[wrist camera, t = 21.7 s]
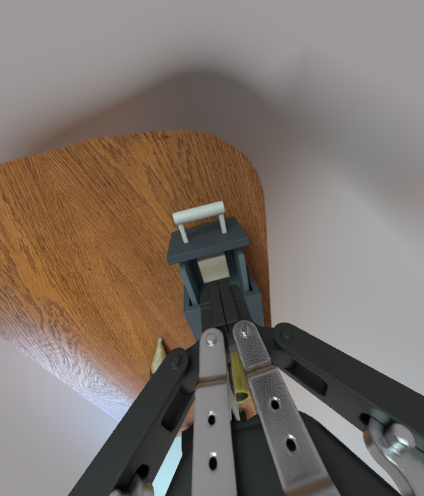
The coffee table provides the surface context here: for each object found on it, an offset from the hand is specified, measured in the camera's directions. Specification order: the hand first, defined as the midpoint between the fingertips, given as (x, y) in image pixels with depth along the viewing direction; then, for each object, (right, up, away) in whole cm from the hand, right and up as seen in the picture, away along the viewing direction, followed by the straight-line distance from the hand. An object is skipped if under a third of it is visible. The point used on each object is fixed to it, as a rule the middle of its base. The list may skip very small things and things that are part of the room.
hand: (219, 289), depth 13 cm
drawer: (-1, +4, +18) cm, 18 cm away
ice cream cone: (-13, -19, +29) cm, 37 cm away
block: (-1, +2, +17) cm, 17 cm away
